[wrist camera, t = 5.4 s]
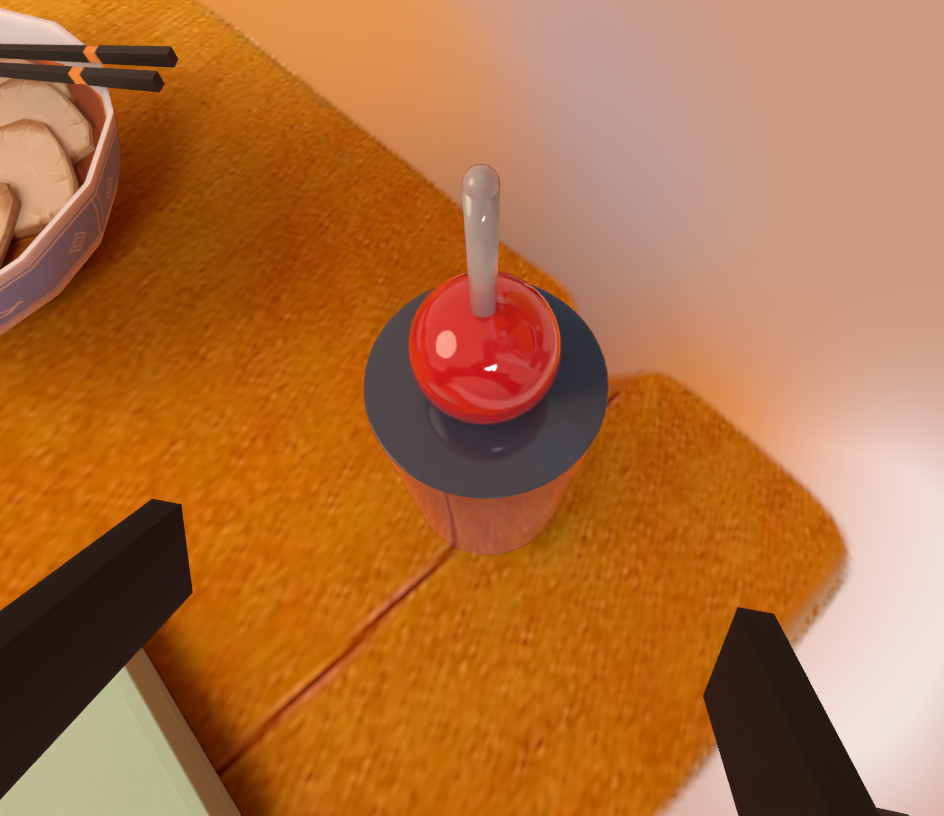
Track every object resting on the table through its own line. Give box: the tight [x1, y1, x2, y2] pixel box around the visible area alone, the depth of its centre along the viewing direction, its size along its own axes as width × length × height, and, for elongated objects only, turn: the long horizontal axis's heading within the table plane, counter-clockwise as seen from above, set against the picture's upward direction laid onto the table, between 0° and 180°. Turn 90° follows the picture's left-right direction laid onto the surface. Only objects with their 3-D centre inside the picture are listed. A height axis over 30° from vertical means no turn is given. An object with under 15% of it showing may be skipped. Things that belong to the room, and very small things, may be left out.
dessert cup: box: [364, 164, 609, 555], centre depth 16 cm, size 7×7×18 cm
